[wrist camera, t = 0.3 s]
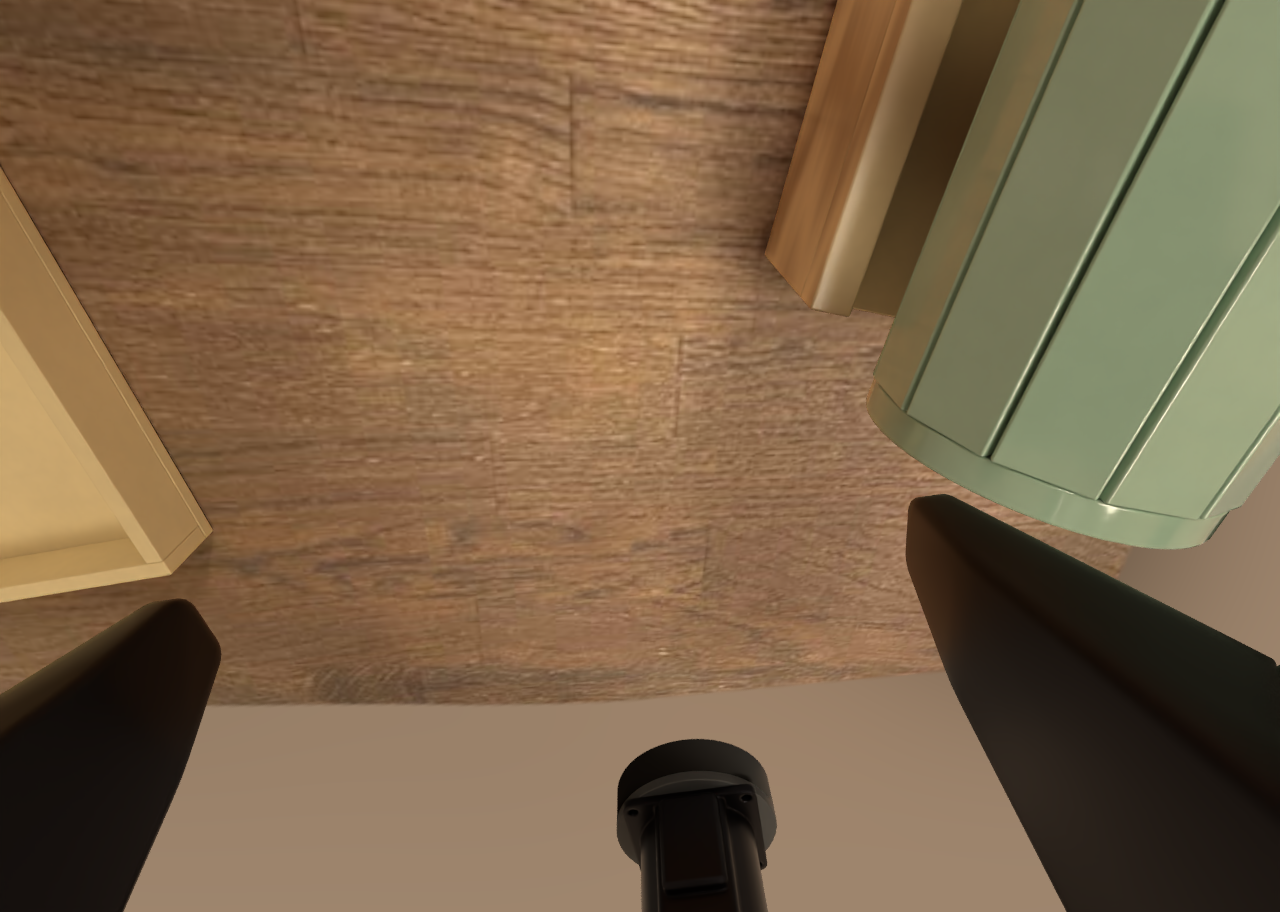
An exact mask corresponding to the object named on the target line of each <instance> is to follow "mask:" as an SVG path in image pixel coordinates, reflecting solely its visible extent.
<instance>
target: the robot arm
mask: <svg viewBox="0 0 1280 912" xmlns="http://www.w3.org/2000/svg"><path fill="white" fill-rule="evenodd" d="M906 562H907V567H908V571H909V574H910V576H911V579H912V582H913V584H914V587H915V590H916V593H917V595H918V598H919V601H920V603H921V606H922V609H923V611H924V614H925V617H926V619H927V622H928V625H929V628H930V630H931V633H932V636H933V638H934V641H935V644H936V646H937V649H938V652H939V654H940V657H941V660H942V663H943V665H944V668H945V670H946V673H947V675H948V678H949V680H950V682H951V685H952V687H953V689H954V691H955V694H956V695H957V698H958V700H959V702H960V704H961V706H962V708H963V710H964V712H965V713H966V716H967V718H968V719H969V722H970V724H971V725H972V727H973V730H974V731H975V733H976V735H977V737H978V739H979V741H980V743H981V745H982V747H983V749H984V751H985V753H986V755H987V757H988V759H989V761H990V763H991V765H992V767H993V768H994V771H995V773H996V775H997V776H998V778H999V780H1000V782H1001V784H1002V786H1003V788H1004V790H1005V792H1006V794H1007V796H1008V798H1009V800H1010V802H1011V804H1012V806H1013V808H1014V810H1015V812H1016V814H1017V816H1018V817H1019V819H1020V822H1021V823H1022V825H1023V827H1024V829H1025V831H1026V833H1027V835H1028V837H1029V839H1030V841H1031V843H1032V845H1033V847H1034V849H1035V851H1036V853H1037V855H1038V857H1039V859H1040V861H1041V863H1042V865H1043V867H1044V869H1045V871H1046V872H1047V874H1048V876H1049V878H1050V880H1051V882H1052V884H1053V886H1054V888H1055V890H1056V892H1057V894H1058V896H1059V898H1060V900H1061V902H1062V904H1063V905H1064V908H1065V910H1066V912H1280V665H1279V666H1276V663H1275V661H1274V660H1273V659H1272V658H1270V657H1268V656H1266V655H1264V654H1262V653H1260V652H1258V651H1256V650H1254V649H1252V648H1250V647H1248V646H1246V645H1244V644H1242V643H1241V642H1239V641H1237V640H1235V639H1233V638H1231V637H1229V636H1226V635H1225V634H1223V633H1221V632H1219V631H1217V630H1215V629H1213V628H1211V627H1209V626H1207V625H1205V624H1203V623H1201V622H1199V621H1197V620H1195V619H1193V618H1191V617H1189V616H1187V615H1185V614H1183V613H1181V612H1179V611H1177V610H1175V609H1174V608H1172V607H1170V606H1168V605H1165V604H1164V603H1162V602H1160V601H1158V600H1156V599H1154V598H1152V597H1150V596H1148V595H1146V594H1144V593H1142V592H1140V591H1138V590H1136V589H1134V588H1132V587H1130V586H1128V585H1126V584H1124V583H1122V582H1120V581H1118V580H1116V579H1114V578H1112V577H1110V576H1109V575H1107V574H1105V573H1103V572H1101V571H1099V570H1097V569H1095V568H1093V567H1091V566H1089V565H1087V564H1085V563H1083V562H1081V561H1079V560H1077V559H1075V558H1073V557H1071V556H1069V555H1067V554H1065V553H1063V552H1061V551H1059V550H1057V549H1055V548H1053V547H1051V546H1049V545H1047V544H1045V543H1043V542H1042V541H1040V540H1038V539H1036V538H1034V537H1032V536H1030V535H1028V534H1026V533H1024V532H1022V531H1020V530H1018V529H1016V528H1014V527H1012V526H1010V525H1008V524H1006V523H1004V522H1002V521H1000V520H998V519H996V518H994V517H992V516H990V515H988V514H986V513H984V512H982V511H980V510H978V509H977V508H975V507H973V506H971V505H969V504H967V503H965V502H963V501H961V500H959V499H957V498H955V497H953V496H950V495H947V494H940V495H932V496H925V497H918V498H915V499H914V500H912V501H911V503H910V506H909V509H908V523H907V538H906ZM220 661H221V648H220V645H219V642H218V640H217V639H216V637H215V636H214V634H213V633H212V631H211V630H210V628H209V627H208V625H207V624H206V622H205V621H204V619H203V618H202V616H201V615H200V614H199V612H198V611H197V609H196V608H195V606H194V605H193V604H192V603H191V602H189V601H187V600H185V599H172V600H164V601H157V602H152V603H149V604H147V605H145V606H143V607H142V608H140V609H138V610H137V611H135V612H133V613H132V614H130V615H129V616H127V617H125V618H124V619H122V620H120V621H119V622H117V623H116V624H114V625H112V626H111V627H109V628H108V629H106V630H104V631H103V632H101V633H99V634H98V635H96V636H95V637H93V638H91V639H90V640H88V641H86V642H85V643H83V644H82V645H80V646H78V647H77V648H75V649H74V650H72V651H70V652H69V653H67V654H65V655H64V656H62V657H61V658H59V659H57V660H56V661H54V662H52V663H51V664H49V665H48V666H46V667H44V668H43V669H41V670H40V671H38V672H36V673H35V674H33V675H31V676H30V677H28V678H27V679H25V680H23V681H22V682H20V683H18V684H17V685H15V686H14V687H12V688H10V689H9V690H7V691H5V692H4V693H2V694H1V695H0V912H123V911H124V909H125V907H126V904H127V902H128V900H129V898H130V895H131V893H132V891H133V889H134V886H135V884H136V882H137V880H138V877H139V875H140V873H141V870H142V868H143V866H144V864H145V861H146V859H147V857H148V854H149V852H150V850H151V848H152V845H153V843H154V841H155V838H156V836H157V834H158V832H159V829H160V827H161V825H162V823H163V820H164V818H165V816H166V813H167V811H168V809H169V807H170V804H171V802H172V800H173V797H174V795H175V793H176V790H177V788H178V785H179V783H180V780H181V778H182V775H183V772H184V769H185V767H186V764H187V761H188V759H189V756H190V752H191V749H192V746H193V744H194V741H195V738H196V735H197V731H198V729H199V725H200V722H201V719H202V716H203V713H204V710H205V707H206V704H207V701H208V698H209V695H210V692H211V689H212V686H213V683H214V680H215V677H216V674H217V671H218V668H219V665H220ZM623 815H624V818H625V821H626V825H627V828H628V831H629V834H630V837H631V841H632V844H633V847H634V850H635V854H636V857H637V860H638V863H639V866H640V870H641V891H642V892H641V894H642V895H641V897H642V912H768V910H767V904H766V899H765V893H764V887H763V881H762V875H761V870H762V869H764V868H765V867H766V866H767V859H766V853H765V846H764V840H763V833H762V827H761V820H760V814H759V808H758V801H757V795H756V790H755V787H754V786H753V785H750V784H739V785H731V786H724V787H716V788H709V789H701V790H693V791H686V792H678V793H670V794H663V795H655V796H647V797H640V798H632V799H628V800H626V801H625V802H624V804H623Z"/></svg>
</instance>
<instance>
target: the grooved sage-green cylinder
mask: <svg viewBox="0 0 1280 912" xmlns="http://www.w3.org/2000/svg"><path fill="white" fill-rule="evenodd" d="M873 375H874V380H873V382H872V385H871V387H870V390H869V392H868V395H867V398H866V408H867V411H868V414H869V415H870V417H871V419H872V420H873V422H874V423H875V424H876V426H877V427H878V428H879V429H880V430H881V431H882V432H883V433H884V434H885V435H886V436H887V437H888V438H889V439H890V440H891V441H892V442H893V443H895V444H896V445H897V446H898V447H900V448H901V449H902V450H904V451H905V452H906V453H907V454H909V455H910V456H912V457H913V458H915V459H916V460H918V461H919V462H921V463H922V464H924V465H925V466H927V467H928V468H930V469H932V470H933V471H935V472H937V473H938V474H940V475H942V476H944V477H945V478H947V479H949V480H951V481H953V482H954V483H956V484H958V485H960V486H962V487H964V488H966V489H968V490H970V491H972V492H974V493H976V494H978V495H980V496H982V497H984V498H986V499H989V500H991V501H993V502H995V503H997V504H1000V505H1002V506H1004V507H1007V508H1009V509H1011V510H1014V511H1016V512H1019V513H1021V514H1024V515H1026V516H1029V517H1032V518H1034V519H1037V520H1040V521H1042V522H1045V523H1048V524H1051V525H1054V526H1057V527H1060V528H1063V529H1066V530H1069V531H1073V532H1076V533H1079V534H1083V535H1087V536H1090V537H1094V538H1098V539H1102V540H1105V541H1110V542H1115V543H1120V544H1125V545H1130V546H1137V547H1144V548H1151V549H1170V550H1172V549H1186V548H1191V547H1195V546H1198V545H1200V544H1202V543H1204V542H1206V541H1207V540H1209V539H1210V538H1211V536H1212V535H1213V534H1214V532H1215V531H1216V529H1217V528H1218V527H1219V525H1220V524H1221V523H1222V521H1223V520H1224V518H1225V517H1226V516H1227V514H1228V513H1229V511H1230V510H1233V509H1236V508H1239V507H1241V506H1242V505H1243V503H1244V502H1245V500H1246V499H1247V498H1248V497H1249V495H1250V494H1251V492H1252V491H1253V490H1254V488H1255V487H1256V486H1257V484H1258V483H1259V482H1260V480H1261V479H1262V478H1263V476H1264V475H1265V473H1266V472H1267V471H1268V469H1269V468H1270V467H1271V466H1272V464H1273V463H1274V461H1275V460H1276V459H1277V457H1278V456H1279V455H1280V0H1020V1H1019V4H1018V6H1017V9H1016V11H1015V14H1014V16H1013V19H1012V21H1011V24H1010V27H1009V29H1008V32H1007V34H1006V37H1005V39H1004V42H1003V44H1002V47H1001V49H1000V52H999V54H998V57H997V60H996V62H995V65H994V67H993V70H992V72H991V75H990V77H989V80H988V82H987V85H986V88H985V90H984V93H983V95H982V98H981V100H980V103H979V105H978V108H977V110H976V113H975V115H974V118H973V121H972V123H971V126H970V128H969V131H968V133H967V136H966V138H965V141H964V143H963V146H962V148H961V151H960V154H959V156H958V159H957V161H956V164H955V166H954V169H953V171H952V174H951V176H950V179H949V181H948V184H947V187H946V189H945V192H944V194H943V197H942V199H941V202H940V204H939V207H938V209H937V212H936V215H935V217H934V220H933V222H932V225H931V227H930V230H929V232H928V235H927V237H926V240H925V242H924V245H923V248H922V250H921V253H920V255H919V258H918V260H917V263H916V265H915V268H914V270H913V273H912V275H911V278H910V281H909V283H908V286H907V288H906V291H905V293H904V296H903V298H902V301H901V303H900V306H899V308H898V311H897V314H896V316H895V319H894V321H893V324H892V326H891V329H890V331H889V334H888V336H887V339H886V341H885V344H884V347H883V349H882V352H881V354H880V357H879V359H878V362H877V364H876V367H875V369H874V372H873Z"/></svg>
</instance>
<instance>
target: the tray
mask: <svg viewBox="0 0 1280 912" xmlns="http://www.w3.org/2000/svg"><path fill="white" fill-rule="evenodd" d="M212 532H213V529H212V528H211V526H210V524H209V522H208V521H207V519H206V517H205V516H204V514H203V512H202V510H201V509H200V507H199V505H198V504H197V502H196V500H195V498H194V497H193V495H192V493H191V492H190V490H189V488H188V486H187V485H186V483H185V481H184V480H183V478H182V476H181V475H180V473H179V471H178V469H177V468H176V466H175V464H174V463H173V461H172V459H171V457H170V456H169V454H168V452H167V451H166V449H165V447H164V445H163V444H162V442H161V440H160V439H159V437H158V435H157V433H156V432H155V430H154V428H153V427H152V425H151V423H150V422H149V420H148V418H147V416H146V415H145V413H144V411H143V410H142V408H141V406H140V404H139V403H138V401H137V399H136V398H135V396H134V394H133V392H132V391H131V389H130V387H129V386H128V384H127V382H126V380H125V379H124V377H123V375H122V374H121V372H120V370H119V369H118V367H117V365H116V363H115V362H114V360H113V358H112V357H111V355H110V353H109V351H108V350H107V348H106V346H105V345H104V343H103V341H102V339H101V338H100V336H99V334H98V333H97V331H96V329H95V327H94V326H93V324H92V322H91V321H90V319H89V317H88V316H87V314H86V312H85V310H84V309H83V307H82V305H81V304H80V302H79V300H78V298H77V297H76V295H75V293H74V292H73V290H72V288H71V286H70V285H69V283H68V281H67V280H66V278H65V276H64V274H63V273H62V271H61V269H60V268H59V266H58V264H57V263H56V261H55V259H54V257H53V256H52V254H51V252H50V251H49V249H48V247H47V245H46V244H45V242H44V240H43V239H42V237H41V235H40V233H39V232H38V230H37V228H36V227H35V225H34V223H33V221H32V220H31V218H30V216H29V215H28V213H27V211H26V210H25V208H24V206H23V204H22V203H21V201H20V199H19V198H18V196H17V194H16V192H15V191H14V189H13V187H12V186H11V184H10V182H9V180H8V179H7V177H6V175H5V174H4V172H3V170H2V168H1V167H0V603H1V602H8V601H14V600H20V599H26V598H32V597H38V596H44V595H51V594H57V593H63V592H69V591H75V590H81V589H87V588H93V587H100V586H106V585H112V584H118V583H124V582H130V581H136V580H143V579H149V578H155V577H161V576H167V575H171V574H172V573H173V572H174V571H175V570H176V569H177V568H178V567H179V566H180V565H181V564H182V563H183V562H184V561H185V560H186V559H187V558H188V557H189V556H190V554H191V553H192V552H193V551H194V550H195V549H196V548H197V547H198V546H199V545H200V544H201V543H202V542H203V541H204V540H205V538H207V537H208V536H209V535H210V534H211V533H212Z"/></svg>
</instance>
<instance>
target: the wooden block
mask: <svg viewBox="0 0 1280 912" xmlns="http://www.w3.org/2000/svg"><path fill="white" fill-rule="evenodd" d="M1019 1H1020V0H838V1H837V4H836V8H835V11H834V15H833V18H832V22H831V25H830V28H829V32H828V35H827V39H826V42H825V46H824V49H823V53H822V56H821V60H820V63H819V67H818V70H817V74H816V77H815V81H814V84H813V88H812V91H811V95H810V98H809V102H808V105H807V108H806V112H805V115H804V119H803V122H802V126H801V129H800V133H799V136H798V140H797V143H796V147H795V150H794V154H793V157H792V161H791V164H790V168H789V171H788V175H787V178H786V182H785V185H784V188H783V192H782V195H781V199H780V202H779V206H778V209H777V213H776V216H775V220H774V223H773V227H772V230H771V234H770V237H769V241H768V244H767V248H766V251H765V256H766V257H767V259H768V260H769V261H770V262H771V263H772V265H773V266H774V267H775V268H776V269H777V270H778V272H779V273H780V274H781V275H782V276H783V277H784V279H785V280H786V281H787V282H788V283H789V284H790V286H791V287H792V288H793V289H794V290H795V291H796V293H797V294H798V295H799V296H800V297H801V299H802V300H803V301H804V302H805V303H806V304H807V306H808V307H809V308H810V309H811V310H816V311H821V312H826V313H830V314H835V315H840V316H845V317H849V316H850V314H851V311H852V309H856V310H861V311H866V312H871V313H876V314H881V315H885V316H890V317H895V316H896V314H897V311H898V308H899V306H900V303H901V301H902V298H903V296H904V293H905V291H906V288H907V286H908V283H909V281H910V278H911V275H912V273H913V270H914V268H915V265H916V263H917V260H918V258H919V255H920V253H921V250H922V248H923V245H924V242H925V240H926V237H927V235H928V232H929V230H930V227H931V225H932V222H933V220H934V217H935V215H936V212H937V209H938V207H939V204H940V202H941V199H942V197H943V194H944V192H945V189H946V187H947V184H948V181H949V179H950V176H951V174H952V171H953V169H954V166H955V164H956V161H957V159H958V156H959V154H960V151H961V148H962V146H963V143H964V141H965V138H966V136H967V133H968V131H969V128H970V126H971V123H972V121H973V118H974V115H975V113H976V110H977V108H978V105H979V103H980V100H981V98H982V95H983V93H984V90H985V88H986V85H987V82H988V80H989V77H990V75H991V72H992V70H993V67H994V65H995V62H996V60H997V57H998V54H999V52H1000V49H1001V47H1002V44H1003V42H1004V39H1005V37H1006V34H1007V32H1008V29H1009V27H1010V24H1011V21H1012V19H1013V16H1014V14H1015V11H1016V9H1017V6H1018V4H1019Z"/></svg>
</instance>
